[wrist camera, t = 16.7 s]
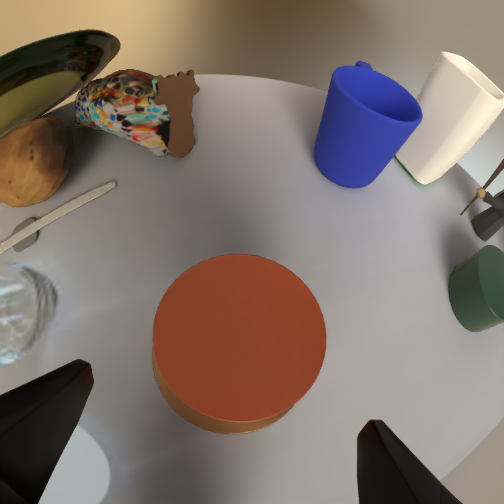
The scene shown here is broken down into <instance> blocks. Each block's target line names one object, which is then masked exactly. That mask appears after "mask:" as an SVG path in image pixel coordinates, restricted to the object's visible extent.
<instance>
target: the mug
mask: <svg viewBox="0 0 504 504" xmlns="http://www.w3.org/2000/svg"><path fill="white" fill-rule="evenodd" d="M422 118H423V114H422V110H421V107H420V105H419V104H418V102H417V101H416V100H415V98H414V97H413V96H412V95H411V94H410V93H409V92H408V91H407V90H406V89H405V88H403V87H402V86H401V85H399V84H398V83H397V82H395V81H394V80H392V79H390V78H389V77H387V76H385V75H383V74H381V73H378V72H376V71H373V70H372V68H371V66H370V65H369V64H368V63H365V62H362V61H357V63H356V65H355V66H342V67H339V68H337V69H336V70H335V71H334V72H333V74H332V78H331V82H330V86H329V90H328V95H327V99H326V103H325V107H324V111H323V115H322V119H321V123H320V127H319V131H318V135H317V139H316V143H315V148H314V156H315V161H316V164H317V166H318V168H319V169H320V171H321V172H322V173H323V174H324V175H325V176H326V177H327V178H328V179H330V180H331V181H332V182H334V183H336V184H338V185H340V186H343V187H347V188H361V187H364V186H366V185H368V184H370V183H371V182H373V181H374V180H375V179H376V178H377V176H378V175H379V174H380V173H381V172H382V170H383V169H384V168H385V167H386V165H387V164H388V163H389V162H390V161H391V159H392V158H393V157H394V156H395V154H396V153H397V152H398V151H399V149H400V148H401V147H402V146H403V144H404V143H405V142H406V141H407V139H408V138H409V137H410V135H411V134H412V133H413V132H414V130H415V129H416V128H417V127H418V125H419V124H420V123H421V121H422Z"/></svg>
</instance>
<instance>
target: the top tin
mask: <svg viewBox="0 0 504 504" xmlns="http://www.w3.org/2000/svg"><path fill="white" fill-rule="evenodd" d="M153 348H154V354H155V358H156V362H157V365H158V367H159V370H160V372H161V374H162V376H163V378H164V379H165V381H166V383H167V384H168V386H169V387H170V388H171V390H172V391H173V392H174V393H175V394H176V395H177V396H178V397H179V398H180V399H181V400H182V401H183V402H184V403H186V404H187V405H188V406H190V407H191V408H192V409H194V410H196V411H198V412H200V413H202V414H203V415H206V416H209V417H211V418H214V419H218V420H222V421H227V422H238V423H241V422H254V421H259V420H264V419H267V418H270V417H273V416H275V415H277V414H279V413H281V412H283V411H285V410H287V409H288V408H290V407H291V406H293V405H294V404H295V403H297V402H298V401H299V400H300V399H301V398H302V397H303V396H304V395H305V394H306V393H307V391H308V390H309V389H310V388H311V386H312V385H313V383H314V382H315V380H316V378H317V376H318V374H319V372H320V370H321V367H322V364H323V360H324V357H325V350H326V329H325V323H324V319H323V315H322V312H321V309H320V307H319V304H318V303H317V301H316V299H315V297H314V295H313V294H312V292H311V291H310V290H309V288H308V287H307V286H306V285H305V283H304V282H303V281H302V280H301V279H300V278H299V277H298V276H296V275H295V274H294V273H293V272H292V271H290V270H289V269H287V268H286V267H284V266H282V265H280V264H278V263H276V262H274V261H272V260H269V259H266V258H263V257H259V256H255V255H247V254H229V255H221V256H217V257H213V258H210V259H208V260H205V261H202V262H200V263H198V264H197V265H195V266H193V267H191V268H190V269H188V270H187V271H186V272H184V273H183V274H182V275H181V276H180V277H178V278H177V279H176V280H175V281H174V283H173V284H172V285H171V286H170V287H169V289H168V290H167V292H166V293H165V295H164V296H163V298H162V300H161V302H160V304H159V307H158V309H157V313H156V316H155V320H154V326H153Z"/></svg>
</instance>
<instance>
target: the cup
mask: <svg viewBox="0 0 504 504" xmlns="http://www.w3.org/2000/svg"><path fill="white" fill-rule="evenodd" d="M416 101H417V102H418V104H419V105H420V107H421V110H422V114H423V118H422V121H421V123H420V124H419V125H418V127H417V128H416V129H415V130H414V132H413V133H412V134H411V135H410V137H409V138H408V139H407V141H406V142H405V143H404V144H403V146H402V147H401V148H400V149H399V151H398V152H397V153H396V154H395V156H396V157H397V159H398V160H399V162H400V163H401V164H402V165H403V166H404V167H405V169H406V170H407V171H408V172H409V173H410V175H411V176H412V177H413V178H414V179H415V180H416V181H418V182H419V183H421V184H425V185H426V184H429V183H431V182H432V181H434V180H436V179H438V178H439V177H441V176H442V175H443V174H444V173H445V172H446V171H448V170H449V169H450V168H451V167H452V166H453V165H454V164H455V163H457V162H458V161H459V160H460V159H461V158H462V157H463V156H464V155H465V154H466V153H467V152H468V151H469V150H470V149H471V148H472V146H473V145H474V144H475V143H476V142H477V141H478V140H479V139H480V138H481V136H482V135H483V134H484V133H485V132H486V130H487V129H488V128H489V127H490V126H491V124H492V123H493V122H494V120H495V119H496V118H497V117H498V115H499V114H500V112H501V111H502V110H503V108H504V93H503V92H502V91H501V90H500V89H499V88H498V87H497V86H496V85H495V84H494V83H493V82H492V81H491V80H489V79H488V78H487V77H486V76H485V75H484V74H483V73H481V71H480V70H478V69H477V68H476V67H475V66H474V65H473V64H471V63H470V62H469V61H467V60H466V59H464V58H463V57H461V56H459V55H456V54H451V53H448V52H441V53H440V55H439V57H438V59H437V61H436V63H435V64H434V66H433V68H432V70H431V72H430V74H429V76H428V78H427V79H426V82H425V83H424V85H423V88H422V89H421V91H420V93H419V95H418V97H417V99H416Z"/></svg>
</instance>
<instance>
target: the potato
mask: <svg viewBox="0 0 504 504" xmlns="http://www.w3.org/2000/svg"><path fill="white" fill-rule="evenodd" d="M73 152H74V143H73V136H72V131H71V130H70V129H69V128H68V127H67V126H66V125H65V124H64V123H63V122H61V121H60V120H59V119H58V118H57V117H56V116H52V117H45V118H40V119H36V120H32V121H28V122H25V123H23V124H21V125H20V126H18V127H16V128H14V129H13V130H11V131H9V132H8V133H7V134H6V135H4V136H3V137H2V138H1V139H0V202H1V203H4V204H6V205H9V206H11V207H27V206H30V205H34V204H37V203H40V202H42V201H45V200H47V199H48V198H49V197H50V196H51V195H52V194H53V193H54V192H55V191H56V190H57V189H58V188H59V186H60V185H61V183H62V181H63V180H64V178H65V176H66V175H67V173H68V170H69V166H70V162H71V159H72V155H73Z"/></svg>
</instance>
